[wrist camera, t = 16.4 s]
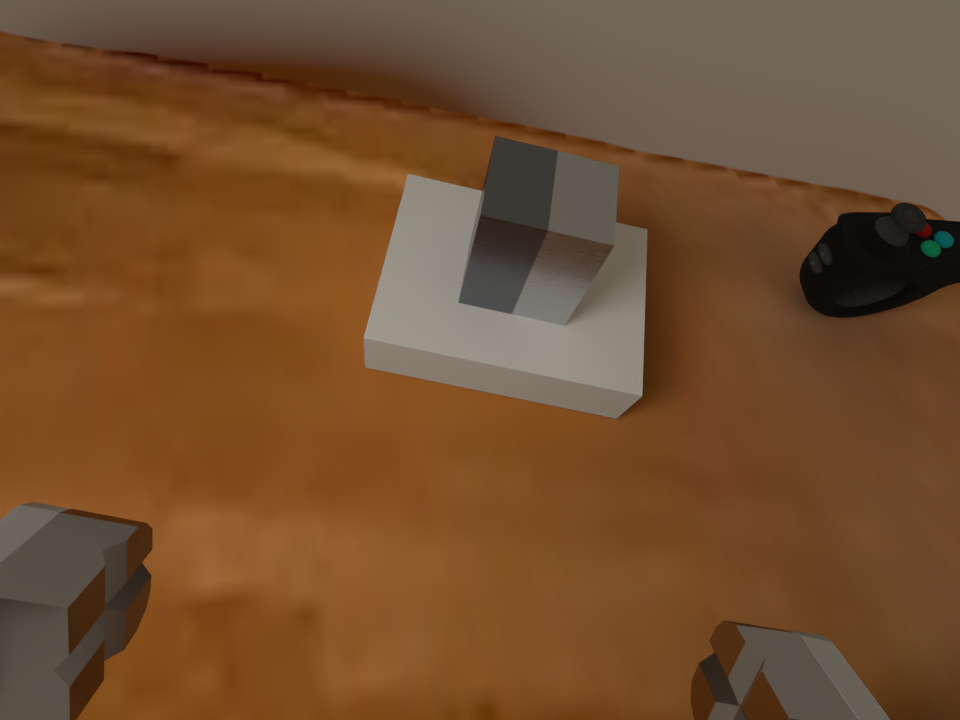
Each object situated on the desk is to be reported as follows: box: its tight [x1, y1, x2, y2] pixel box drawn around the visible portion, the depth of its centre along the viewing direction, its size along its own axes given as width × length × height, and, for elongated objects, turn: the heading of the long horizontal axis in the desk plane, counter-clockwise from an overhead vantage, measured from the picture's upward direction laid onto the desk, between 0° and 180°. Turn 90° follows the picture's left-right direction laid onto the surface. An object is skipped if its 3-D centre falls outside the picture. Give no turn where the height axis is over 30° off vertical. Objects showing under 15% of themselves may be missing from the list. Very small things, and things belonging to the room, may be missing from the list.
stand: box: [364, 174, 648, 419], centre depth 37 cm, size 16×12×4 cm
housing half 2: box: [458, 136, 558, 314], centre depth 31 cm, size 3×5×8 cm, turn 171°
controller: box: [800, 203, 960, 317], centre depth 39 cm, size 4×12×10 cm, turn 94°
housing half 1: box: [512, 151, 619, 326], centre depth 32 cm, size 3×5×8 cm, turn 171°
